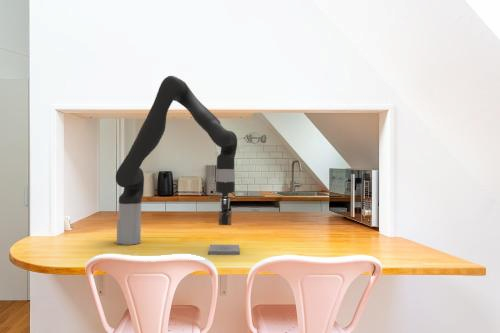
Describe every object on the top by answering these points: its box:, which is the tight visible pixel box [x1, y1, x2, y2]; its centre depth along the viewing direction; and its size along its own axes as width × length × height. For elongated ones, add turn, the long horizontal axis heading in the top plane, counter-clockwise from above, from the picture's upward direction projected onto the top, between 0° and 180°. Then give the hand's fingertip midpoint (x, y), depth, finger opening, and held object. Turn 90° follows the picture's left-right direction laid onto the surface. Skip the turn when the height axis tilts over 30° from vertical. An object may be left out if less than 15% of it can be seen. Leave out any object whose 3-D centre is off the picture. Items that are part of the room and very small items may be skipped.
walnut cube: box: [218, 210, 232, 226], centre depth 154 cm, size 5×5×5 cm
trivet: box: [208, 244, 241, 255], centre depth 154 cm, size 12×12×1 cm
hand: (224, 223), depth 154 cm, fingers closed on walnut cube, 5 cm apart
